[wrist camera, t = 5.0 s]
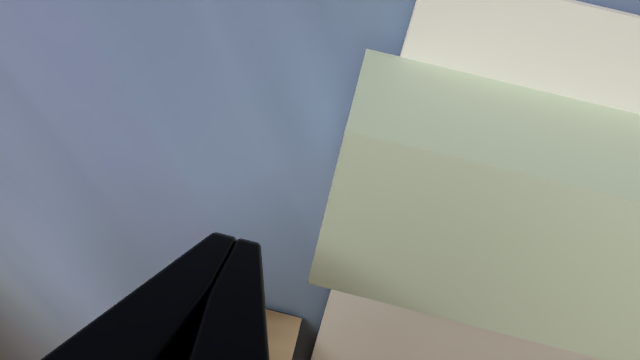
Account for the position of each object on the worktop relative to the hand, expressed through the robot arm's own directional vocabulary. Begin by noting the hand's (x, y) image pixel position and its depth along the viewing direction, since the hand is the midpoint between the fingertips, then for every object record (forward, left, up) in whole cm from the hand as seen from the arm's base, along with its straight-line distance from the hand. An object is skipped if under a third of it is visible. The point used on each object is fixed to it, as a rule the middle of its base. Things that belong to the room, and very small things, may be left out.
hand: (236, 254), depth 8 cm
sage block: (+1, 0, -3) cm, 4 cm away
